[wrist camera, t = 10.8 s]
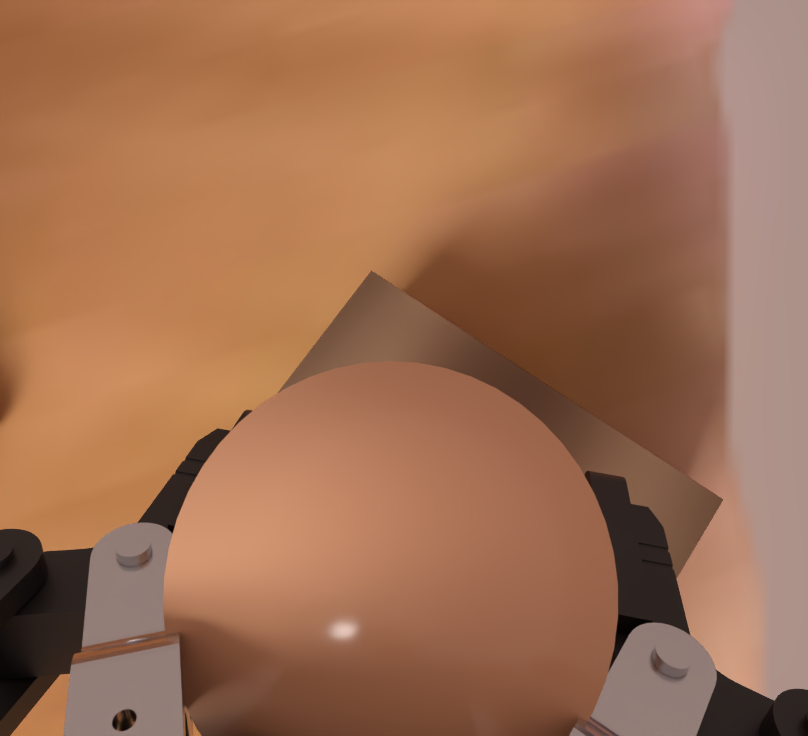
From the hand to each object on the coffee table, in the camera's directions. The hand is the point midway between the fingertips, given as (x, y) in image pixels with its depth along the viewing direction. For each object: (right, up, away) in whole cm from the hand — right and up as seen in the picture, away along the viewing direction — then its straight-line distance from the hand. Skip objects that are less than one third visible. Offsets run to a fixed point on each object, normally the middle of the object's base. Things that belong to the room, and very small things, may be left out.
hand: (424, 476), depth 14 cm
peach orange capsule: (0, -3, +4) cm, 5 cm away
